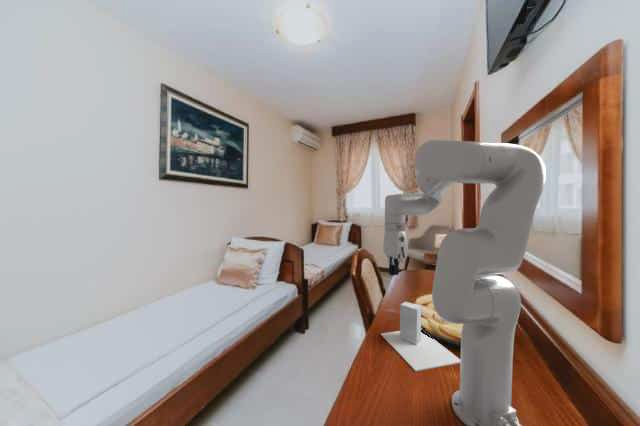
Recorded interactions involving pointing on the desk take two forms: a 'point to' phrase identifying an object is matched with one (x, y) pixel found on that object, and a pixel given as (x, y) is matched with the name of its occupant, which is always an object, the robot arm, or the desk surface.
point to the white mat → (421, 352)
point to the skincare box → (410, 322)
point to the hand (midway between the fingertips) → (393, 274)
